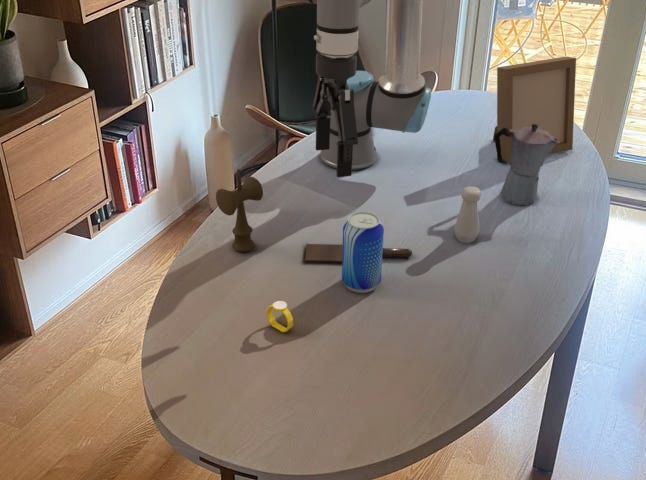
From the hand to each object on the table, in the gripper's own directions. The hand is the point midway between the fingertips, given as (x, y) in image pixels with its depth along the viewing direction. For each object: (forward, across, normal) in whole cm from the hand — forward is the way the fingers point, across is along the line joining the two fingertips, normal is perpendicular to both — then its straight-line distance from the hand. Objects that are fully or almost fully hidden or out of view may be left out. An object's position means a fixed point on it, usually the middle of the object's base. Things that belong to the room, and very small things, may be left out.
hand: (332, 162), depth 161 cm
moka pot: (+25, -22, +57) cm, 66 cm away
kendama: (+28, -20, -14) cm, 37 cm away
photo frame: (+22, -47, +73) cm, 89 cm away
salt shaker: (+26, -8, +36) cm, 46 cm away
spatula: (+27, -9, +10) cm, 30 cm away
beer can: (+28, +2, +7) cm, 29 cm away
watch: (+30, +12, -14) cm, 35 cm away
